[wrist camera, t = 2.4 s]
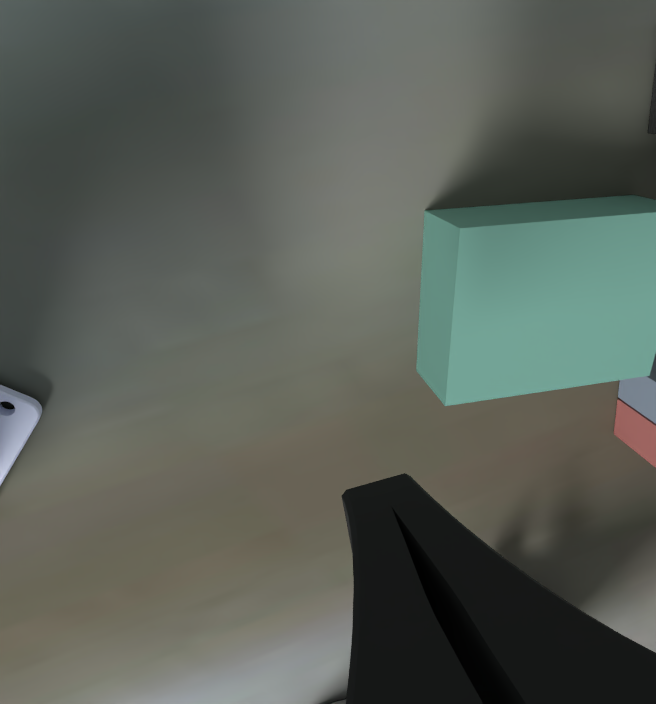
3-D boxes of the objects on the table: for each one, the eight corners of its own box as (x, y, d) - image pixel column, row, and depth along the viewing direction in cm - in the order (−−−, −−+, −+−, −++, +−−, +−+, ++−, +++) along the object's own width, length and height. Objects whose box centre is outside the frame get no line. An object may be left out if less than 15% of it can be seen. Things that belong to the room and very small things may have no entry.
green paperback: (413, 366, 21) (445, 406, 18) (421, 208, 18) (459, 228, 15) (595, 342, 22) (649, 375, 20) (627, 193, 20) (694, 209, 17)
